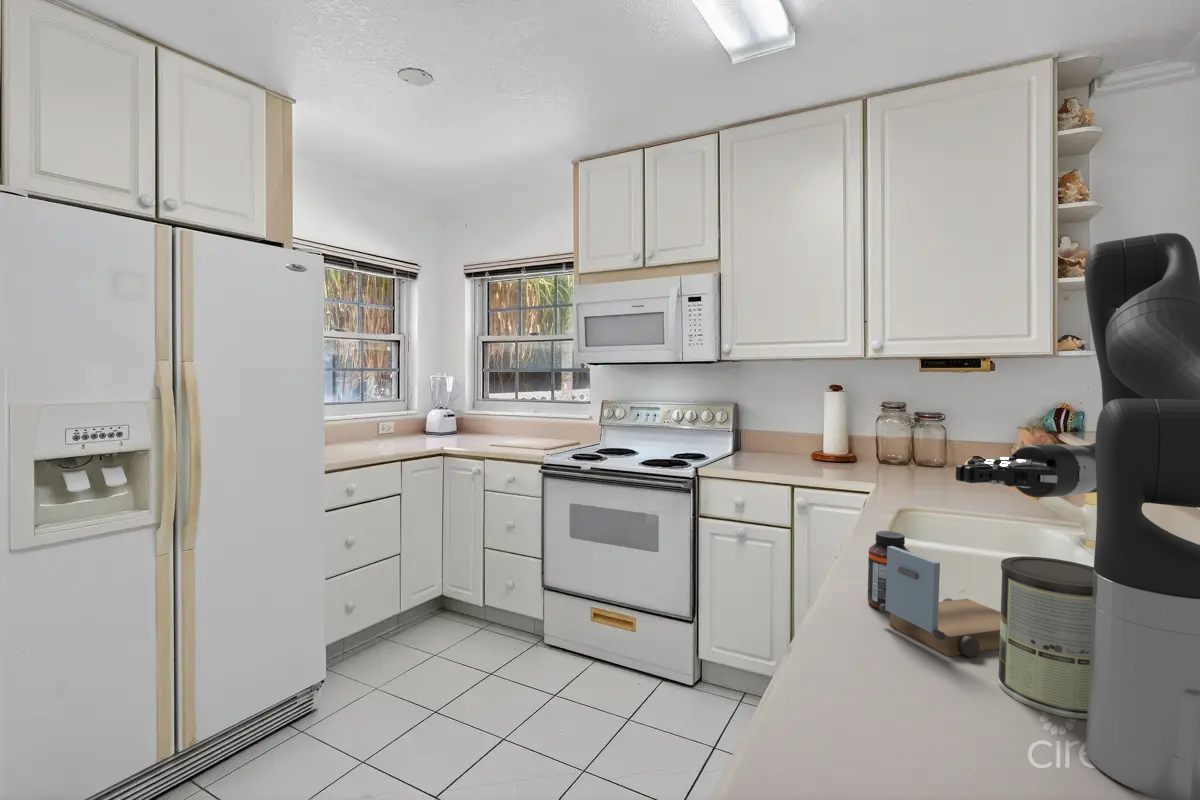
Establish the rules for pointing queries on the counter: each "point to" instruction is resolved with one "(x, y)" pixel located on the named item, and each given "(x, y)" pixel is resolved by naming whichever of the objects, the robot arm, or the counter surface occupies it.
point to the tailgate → (912, 588)
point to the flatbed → (957, 628)
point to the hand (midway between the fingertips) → (962, 474)
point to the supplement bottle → (881, 565)
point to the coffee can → (1046, 634)
